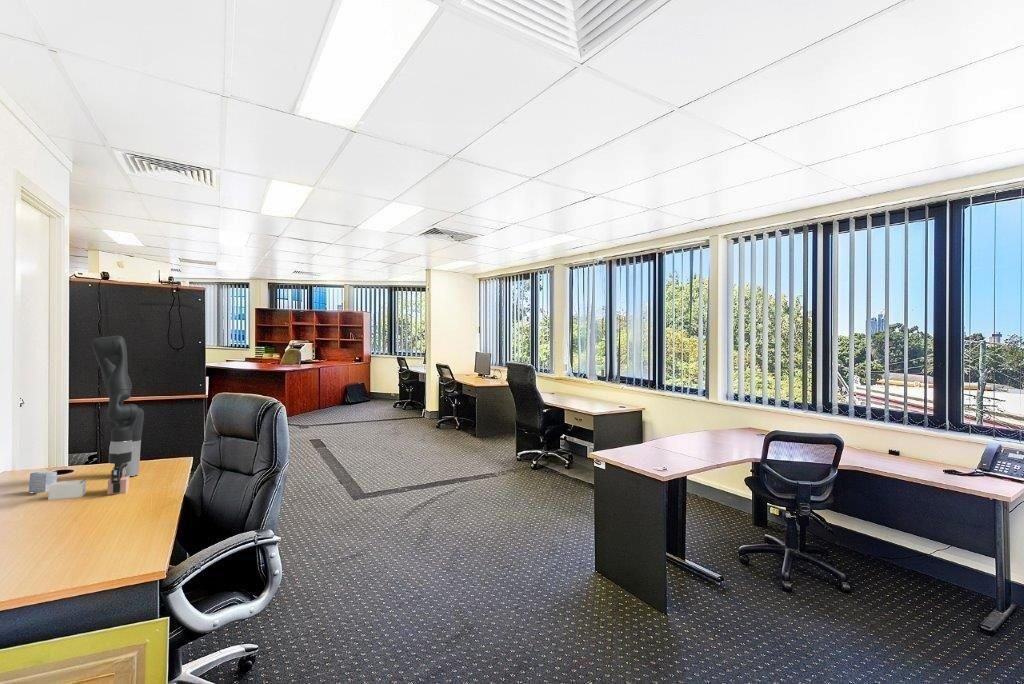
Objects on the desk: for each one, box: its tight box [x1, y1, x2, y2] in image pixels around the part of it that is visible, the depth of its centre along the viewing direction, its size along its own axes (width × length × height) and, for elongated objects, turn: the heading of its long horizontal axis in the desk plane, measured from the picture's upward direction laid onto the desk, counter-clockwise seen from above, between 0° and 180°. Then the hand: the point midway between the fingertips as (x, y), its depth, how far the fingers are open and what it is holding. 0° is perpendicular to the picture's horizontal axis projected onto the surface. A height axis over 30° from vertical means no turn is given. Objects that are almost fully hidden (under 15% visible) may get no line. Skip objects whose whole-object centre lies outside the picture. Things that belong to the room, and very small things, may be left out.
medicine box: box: [28, 470, 58, 494], centre depth 195 cm, size 8×4×9 cm, turn 84°
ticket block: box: [47, 479, 87, 501], centre depth 187 cm, size 5×10×6 cm, turn 119°
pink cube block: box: [106, 477, 130, 496], centre depth 195 cm, size 5×6×6 cm
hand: (118, 490), depth 195 cm, fingers open, 5 cm apart
